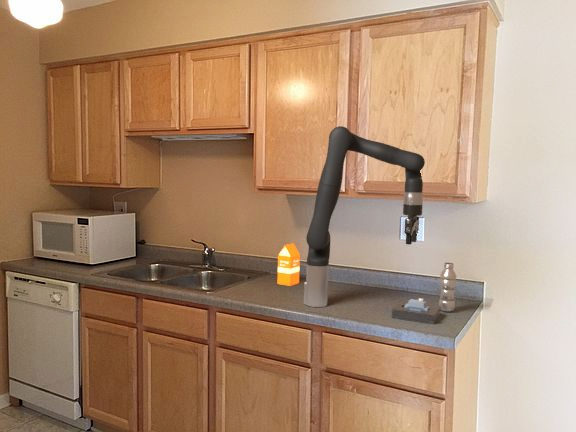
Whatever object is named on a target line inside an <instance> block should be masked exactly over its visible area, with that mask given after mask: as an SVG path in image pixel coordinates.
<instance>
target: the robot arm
mask: <svg viewBox="0 0 576 432" xmlns="http://www.w3.org/2000/svg"><path fill="white" fill-rule="evenodd" d="M348 151H349V152H354V153H358V154H361V155H365V156H366V157H370V158H373V159H375V160H377V161H380V162H384V163H385V164H386V163H387V164H390V165H393V166H399V167H401V168H404V170H405V171H404V172H405V173H404V175H405V181H404V194H403V204H402V205H403V206H402V207H403V208H402V214H403V215H404V216H407V218H405V219H404V232H403V233H404V234H405V245H412V243H416V242H417V241H418V240H417V238H418V237H417V236H418V235H417V234H418V231H419V224H420V217H421V216H423V203H424V197H423V196H424V195H423V185H424V181H423V178H422V177H423V176H421V173H420V170H421V169H422V170H423V168H424V167H425V164H426V163H425V162H426V161H425V158H424V157H423V156H422V155H421V154H419V153H417V152H414V151H409V150H405V149H401V148H399V147H396V146H393V145H390V144H387V143H383V142H379V141H376V140H371V139H367V138H364V137H362V136H359V135H357V134H355V133H353V132H352V131H350V130H349V129H348V128H347V127H346V126H343V125H342V126H336V127H334V128H333V129H332V130H331V131H330V133H329V135H328V145H327V152H326V153H327V154H326V158H325V162H324V165H323V168H322V171H321V174H320V178H319V181H318V186H317V190H316V194H315V195H316V196H315V202H314V206H313V207H314V208H313V215H312V217H311V222H310V224H309V227H308V231H307V234H306V237H305V238H306V243H307V245H308V253H307V257H306V281H304V283H303V284H304V286H303V305H306V306H308V307H312V308H324V307H327V306H328V300H329V299H328V295H329V294H328V293H329V268H330V267H329V263H330V256H331V255H330V254H331V233H330V231H329V228H330V223H331V219H332V216H333V213H334V211H335V209H336V205H337V204H338V202H339V201H338V200H339V197H340V193H341V188H342V183H343V176H344V175H343V174H344V165H345V164H344V163H345V160H346V157H347V156H346V155H347V153H348Z"/></svg>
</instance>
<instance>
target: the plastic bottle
mask: <svg viewBox="0 0 576 432" xmlns="http://www.w3.org/2000/svg"><path fill="white" fill-rule="evenodd" d="M443 265H444V266H443V268H444V269H443V270H442V271H441V273H440V276H439V277H440V296H439V301H438V306H439V307H441V311H442V312H453V311H454V310H455V308H456V302H455V286H456V281H457V274H456V272H455V271H454V265H455V264H454V263H453V262H444V264H443Z"/></svg>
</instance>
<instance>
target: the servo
mask: <svg viewBox="0 0 576 432" xmlns="http://www.w3.org/2000/svg"><path fill="white" fill-rule="evenodd" d="M407 302H408V304H406V305H405V306H404V307H405V308H409V309H410V310H414V311H421V310H423V311H425V310H426V311H428V310H429V308H430V307H428V306H426V305H427V301H426V300H424V298H423V297H419V298H418V299H413V298H410V299H409V300H408V301H407Z"/></svg>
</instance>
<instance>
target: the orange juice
mask: <svg viewBox="0 0 576 432" xmlns="http://www.w3.org/2000/svg"><path fill="white" fill-rule="evenodd" d="M300 257H301V255H300V252H299V251H298V249H297V247H296V245H295V243H293V242H292V243H290V244H289V243H288V244H284V245H283V247H282V248H281V250H280V252H279V253H278V254H277V283H276V284H278V285H281V286H282V285H283V286H287V287H288V286H289V287H291V286H294V285H297V284H299V283H300V267H301V266H300V263H301V262H300V259H301V258H300Z"/></svg>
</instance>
